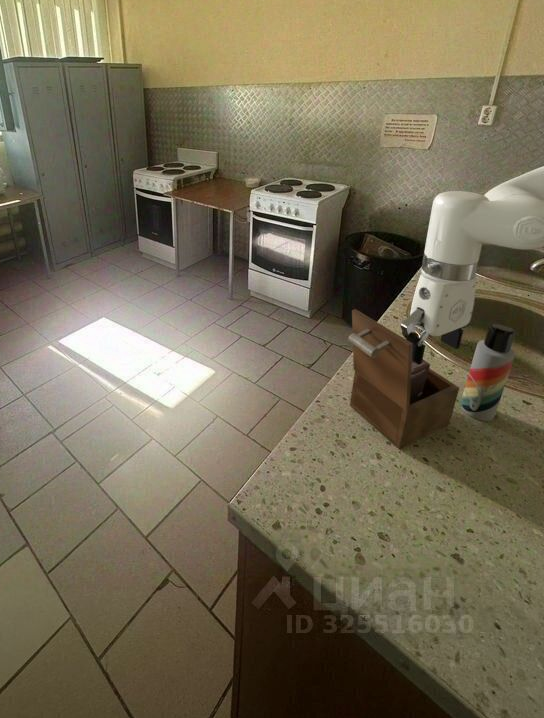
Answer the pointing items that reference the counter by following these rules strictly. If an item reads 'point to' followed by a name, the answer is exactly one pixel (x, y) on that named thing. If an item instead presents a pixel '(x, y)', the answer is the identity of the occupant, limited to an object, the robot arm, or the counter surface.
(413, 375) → the box
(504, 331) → the lotion bottle
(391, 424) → the chest
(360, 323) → the lid
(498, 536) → the counter surface
